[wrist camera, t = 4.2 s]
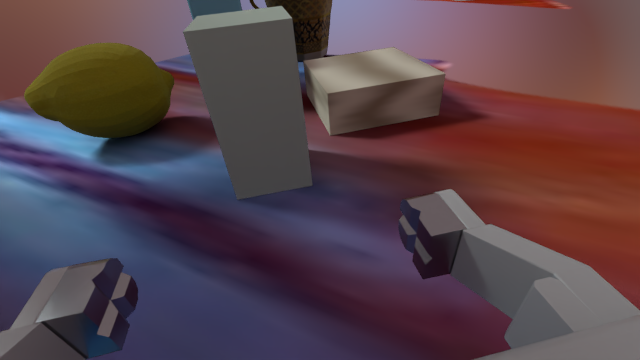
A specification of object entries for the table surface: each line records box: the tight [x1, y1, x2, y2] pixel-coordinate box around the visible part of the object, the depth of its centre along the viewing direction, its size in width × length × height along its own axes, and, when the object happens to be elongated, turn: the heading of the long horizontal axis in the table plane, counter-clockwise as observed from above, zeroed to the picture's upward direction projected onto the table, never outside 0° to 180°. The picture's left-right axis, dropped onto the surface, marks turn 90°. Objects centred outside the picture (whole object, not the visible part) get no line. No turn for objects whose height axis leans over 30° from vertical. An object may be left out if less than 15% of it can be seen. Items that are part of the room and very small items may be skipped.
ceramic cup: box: [250, 0, 332, 61], centre depth 44 cm, size 13×10×10 cm
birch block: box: [303, 47, 445, 136], centre depth 29 cm, size 10×10×4 cm
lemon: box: [24, 43, 174, 138], centre depth 27 cm, size 11×8×8 cm
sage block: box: [183, 6, 313, 200], centre depth 19 cm, size 5×5×10 cm
